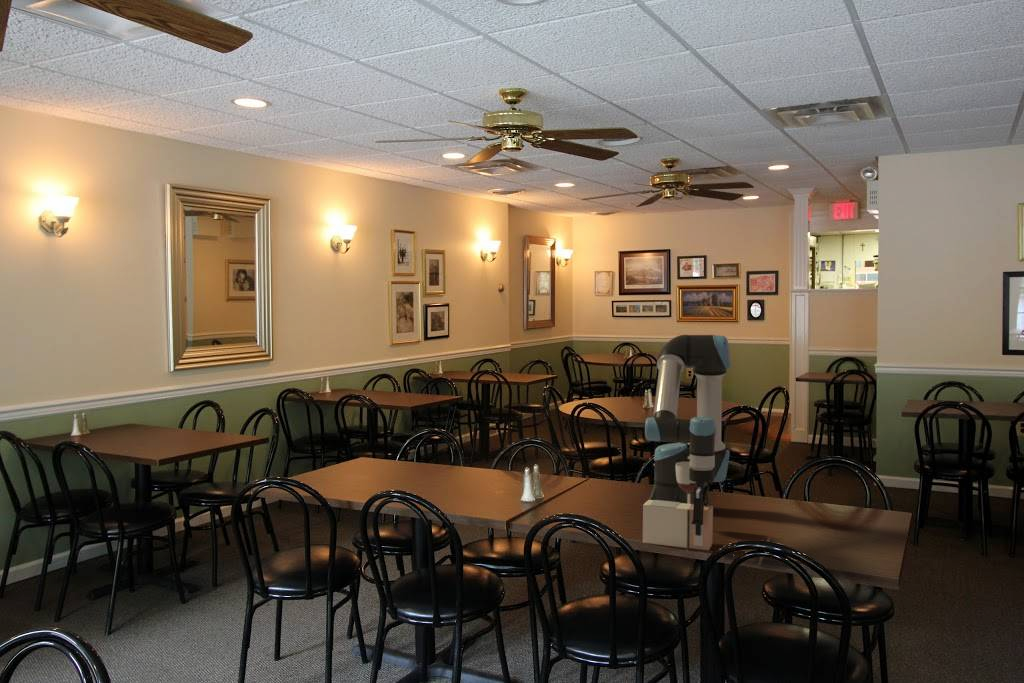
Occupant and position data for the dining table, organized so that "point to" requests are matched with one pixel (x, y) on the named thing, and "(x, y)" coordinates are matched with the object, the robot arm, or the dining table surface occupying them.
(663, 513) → the beige rectangular block
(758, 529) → the dining table surface
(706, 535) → the stub
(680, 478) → the wineglass
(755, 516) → the dining table surface
